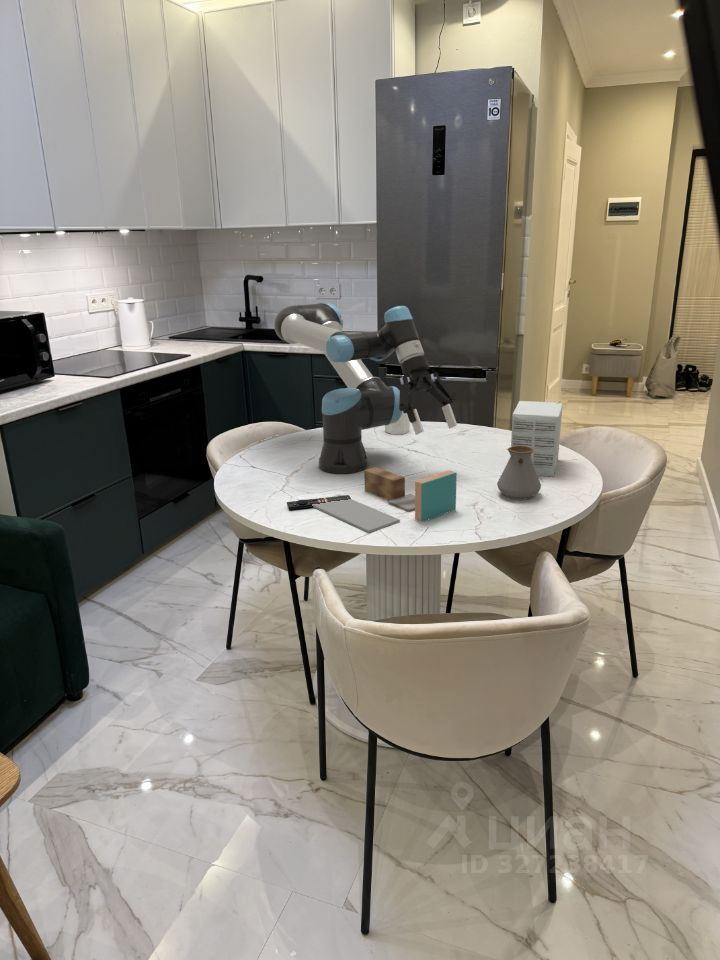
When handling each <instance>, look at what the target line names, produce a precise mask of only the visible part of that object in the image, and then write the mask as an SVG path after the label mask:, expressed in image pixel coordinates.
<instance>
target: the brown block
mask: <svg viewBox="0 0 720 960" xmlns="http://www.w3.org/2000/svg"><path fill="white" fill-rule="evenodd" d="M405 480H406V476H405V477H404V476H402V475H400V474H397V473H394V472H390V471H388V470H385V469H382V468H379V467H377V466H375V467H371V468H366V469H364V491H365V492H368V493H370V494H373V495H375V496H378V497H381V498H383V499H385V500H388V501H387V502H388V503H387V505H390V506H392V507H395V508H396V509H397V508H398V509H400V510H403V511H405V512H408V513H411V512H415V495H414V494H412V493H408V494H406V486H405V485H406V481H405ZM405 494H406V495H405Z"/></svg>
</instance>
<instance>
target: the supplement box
mask: <svg viewBox="0 0 720 960" xmlns="http://www.w3.org/2000/svg"><path fill="white" fill-rule="evenodd" d="M562 415H563V402H551V401H550V402H548V401H534V400H533V401H531V400H518V403H517V405H516V407H515V408H514V411H513V412H512V415H511V416H512V420H511V423H512V424H511V440H510V447H513V446H527V447H530V448H532V449H533V450H534V451H533V452H532V454H531V460H532V463H533V465H534V468H535V471H536V473H537V476H540V477H541V476H542V477H543V476H544V477H555V471H556V468H557V464H558V460H559V453H560V451H559V450H560V440H561V439H560V438H561V427H562V426H561V425H562V418H563V417H562ZM510 457H511V455H510ZM510 457H509V458H510Z"/></svg>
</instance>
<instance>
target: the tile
mask: <svg viewBox="0 0 720 960" xmlns="http://www.w3.org/2000/svg"><path fill="white" fill-rule="evenodd" d="M414 482H415V483H414V484H415V485H414V486H415V487H414V494H415V510H414V519H415V520H416V521H419V522H420V523H424V522H426V521H429V520H432V519H434V518H437V517H439V515H440V516H442V515H445V514H447V512H448V513H449V511H450V512H452V510H453V511H456V510H455V509H457V472H455V471H453V470H446V471H443V472H440V473H436V474H434V475H430V476H428V477H424V478H422V479H418V480H416V481H414ZM436 516H437V517H436ZM431 518H432V519H431ZM428 519H429V520H428ZM423 521H424V522H423Z"/></svg>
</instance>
